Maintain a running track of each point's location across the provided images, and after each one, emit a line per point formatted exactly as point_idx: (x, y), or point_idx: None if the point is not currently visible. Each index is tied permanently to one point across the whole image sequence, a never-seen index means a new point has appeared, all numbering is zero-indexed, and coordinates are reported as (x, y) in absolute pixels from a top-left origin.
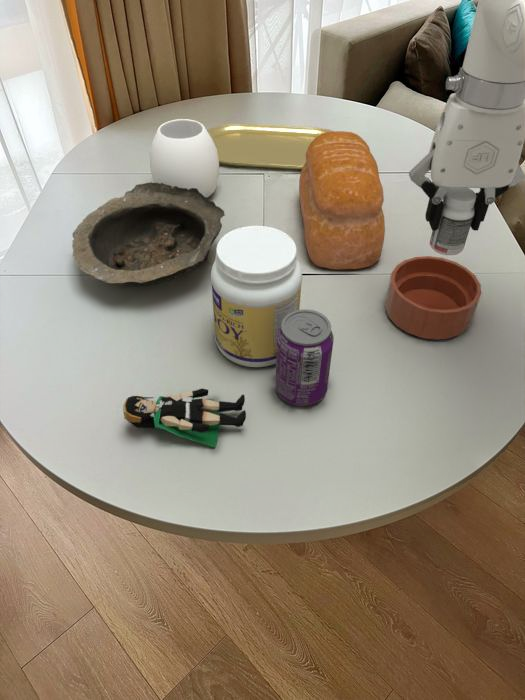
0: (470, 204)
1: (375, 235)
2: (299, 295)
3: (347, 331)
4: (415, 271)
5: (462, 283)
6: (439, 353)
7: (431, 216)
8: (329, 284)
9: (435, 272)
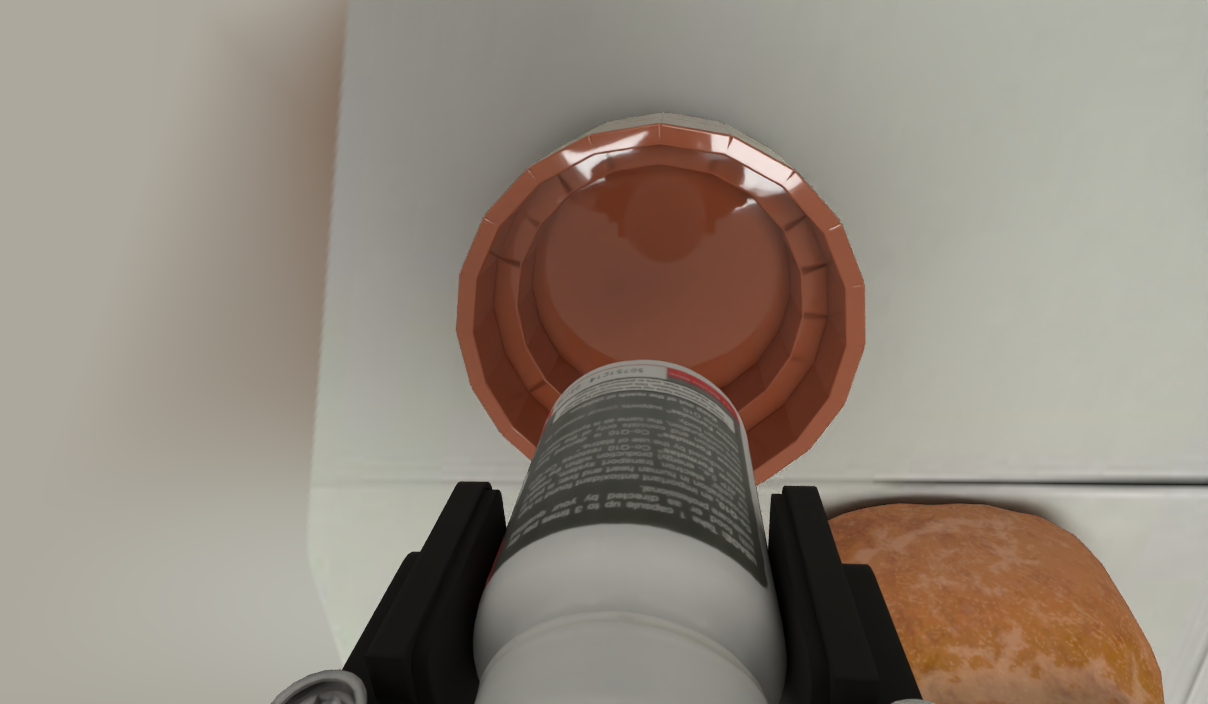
0: (528, 675)
1: None
2: None
3: (1016, 161)
4: None
5: (520, 383)
6: (653, 45)
7: (858, 595)
8: (1011, 431)
9: None
